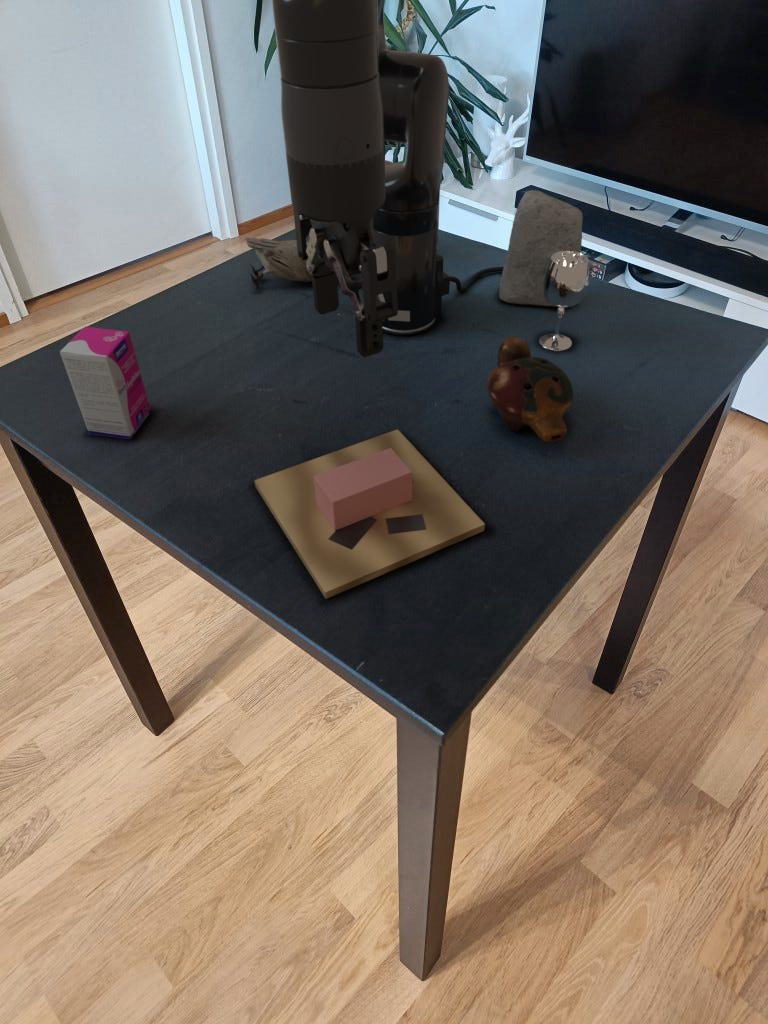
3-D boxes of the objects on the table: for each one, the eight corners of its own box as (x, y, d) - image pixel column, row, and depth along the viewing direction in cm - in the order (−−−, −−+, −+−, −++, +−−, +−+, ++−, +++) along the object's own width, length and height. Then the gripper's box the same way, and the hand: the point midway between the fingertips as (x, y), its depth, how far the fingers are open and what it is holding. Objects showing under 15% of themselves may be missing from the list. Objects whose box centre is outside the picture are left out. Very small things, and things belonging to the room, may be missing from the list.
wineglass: (529, 348, 97) (541, 265, 89) (539, 328, 101) (552, 246, 92) (572, 356, 95) (588, 272, 87) (580, 335, 99) (596, 252, 91)
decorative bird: (354, 288, 110) (351, 240, 105) (250, 293, 110) (242, 246, 104) (352, 272, 114) (350, 225, 109) (252, 277, 113) (244, 230, 108)
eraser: (391, 475, 78) (390, 447, 75) (412, 500, 75) (412, 471, 72) (316, 504, 75) (313, 475, 72) (335, 531, 72) (332, 502, 69)
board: (397, 435, 84) (397, 428, 83) (484, 530, 73) (485, 524, 72) (255, 487, 78) (254, 480, 77) (325, 599, 67) (324, 592, 66)
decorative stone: (575, 295, 107) (593, 193, 97) (569, 314, 103) (588, 210, 93) (504, 285, 110) (514, 185, 100) (495, 303, 106) (505, 201, 96)
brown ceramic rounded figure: (527, 376, 92) (540, 322, 86) (590, 451, 83) (610, 397, 77) (460, 389, 90) (469, 335, 84) (517, 469, 80) (532, 414, 74)
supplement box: (133, 440, 84) (105, 357, 76) (87, 434, 85) (55, 351, 77) (154, 411, 88) (129, 329, 80) (110, 406, 89) (81, 324, 81)
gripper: (426, 160, 51) (423, 356, 62) (336, 108, 59) (348, 287, 71) (332, 183, 48) (347, 382, 60) (252, 125, 57) (279, 308, 68)
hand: (347, 331), depth 65 cm, fingers open, 8 cm apart
